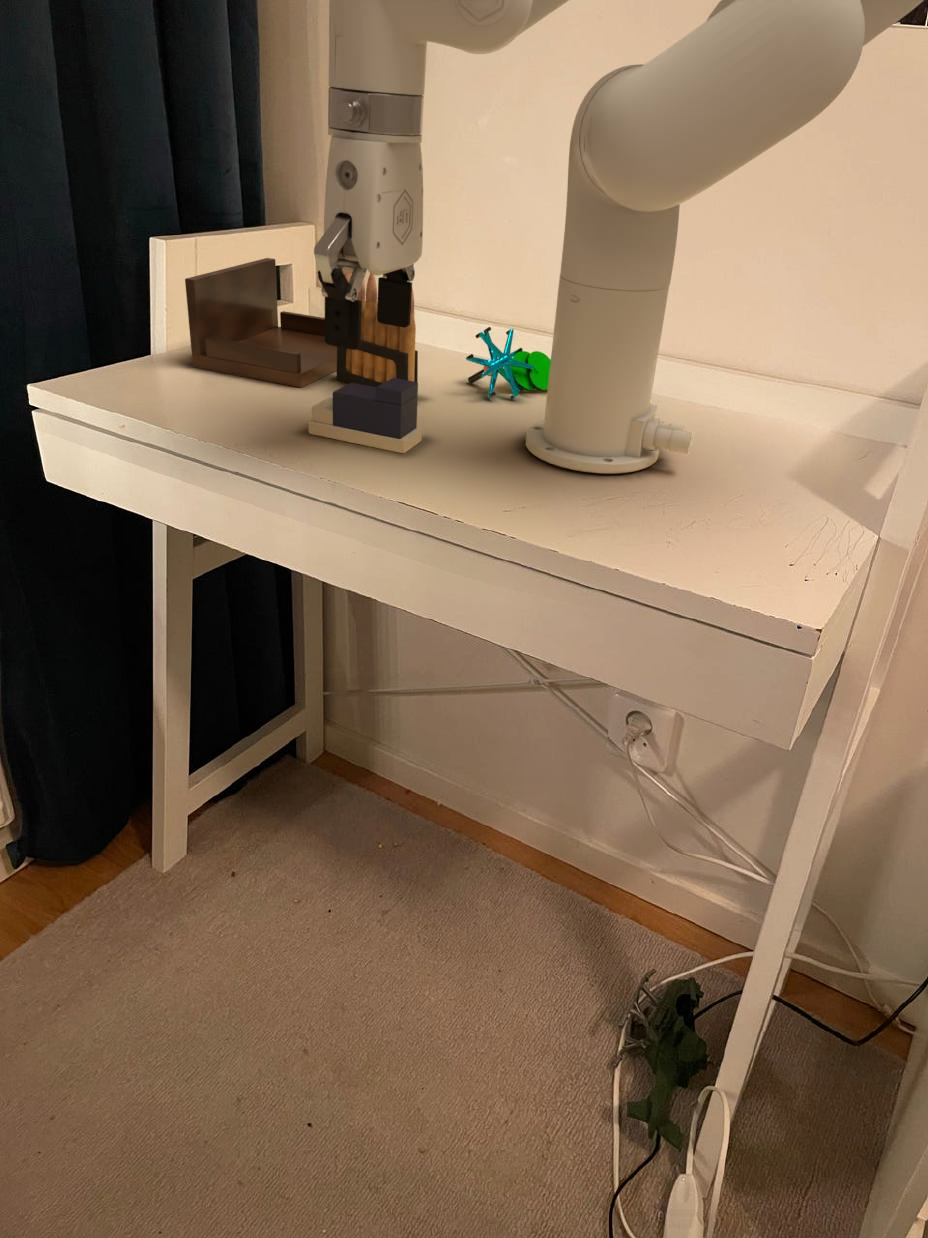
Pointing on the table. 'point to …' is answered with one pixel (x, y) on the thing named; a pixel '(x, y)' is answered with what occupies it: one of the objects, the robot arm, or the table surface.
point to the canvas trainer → (371, 415)
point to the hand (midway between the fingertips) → (369, 334)
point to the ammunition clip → (378, 346)
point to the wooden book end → (254, 328)
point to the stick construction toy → (512, 367)
